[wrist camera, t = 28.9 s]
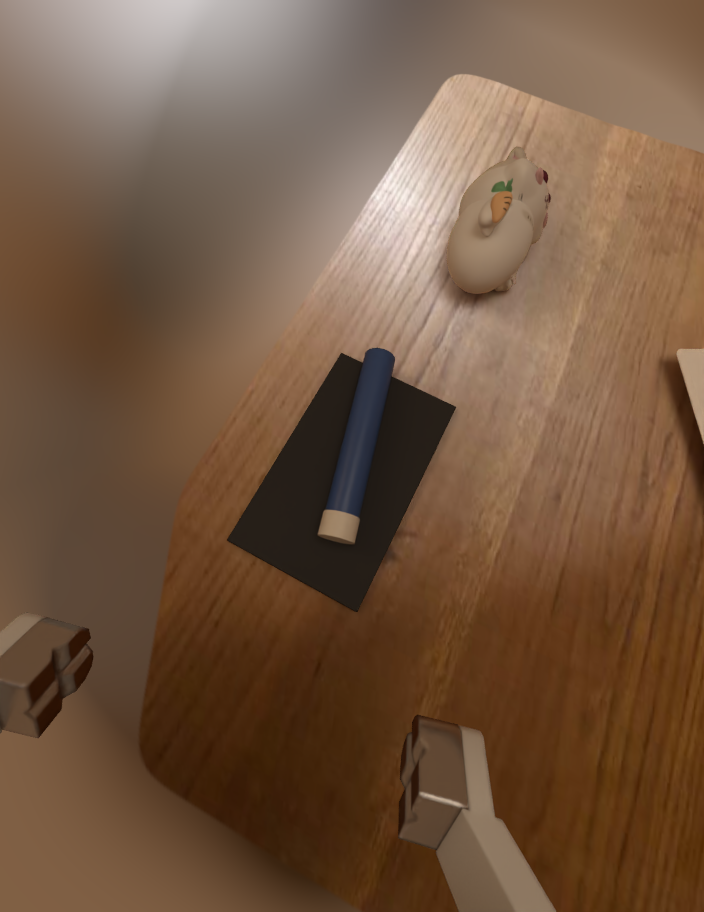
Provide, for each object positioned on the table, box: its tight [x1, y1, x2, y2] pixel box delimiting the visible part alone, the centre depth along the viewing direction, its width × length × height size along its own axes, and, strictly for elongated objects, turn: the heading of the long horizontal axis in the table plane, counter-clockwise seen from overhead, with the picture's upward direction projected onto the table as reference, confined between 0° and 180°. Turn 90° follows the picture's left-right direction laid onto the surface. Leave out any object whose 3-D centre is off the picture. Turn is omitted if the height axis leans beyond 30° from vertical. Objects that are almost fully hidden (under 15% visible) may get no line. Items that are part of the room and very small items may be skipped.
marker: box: [318, 348, 395, 544], centre depth 35 cm, size 3×3×17 cm
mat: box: [227, 353, 456, 612], centre depth 36 cm, size 20×12×1 cm, turn 152°
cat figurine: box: [446, 147, 551, 294], centre depth 40 cm, size 10×8×15 cm
